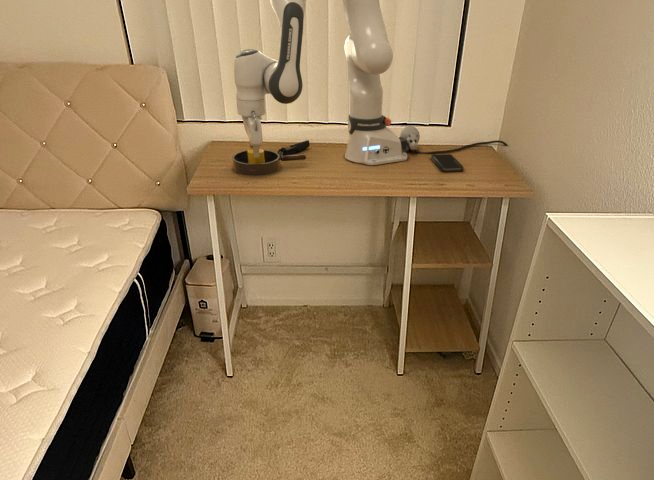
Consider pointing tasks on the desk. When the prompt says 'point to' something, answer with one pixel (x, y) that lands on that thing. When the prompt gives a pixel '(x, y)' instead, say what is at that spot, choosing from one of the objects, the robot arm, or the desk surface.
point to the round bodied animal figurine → (410, 137)
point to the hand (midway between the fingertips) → (254, 152)
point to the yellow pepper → (256, 159)
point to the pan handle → (293, 157)
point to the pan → (261, 169)
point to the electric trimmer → (293, 148)
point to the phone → (447, 163)
